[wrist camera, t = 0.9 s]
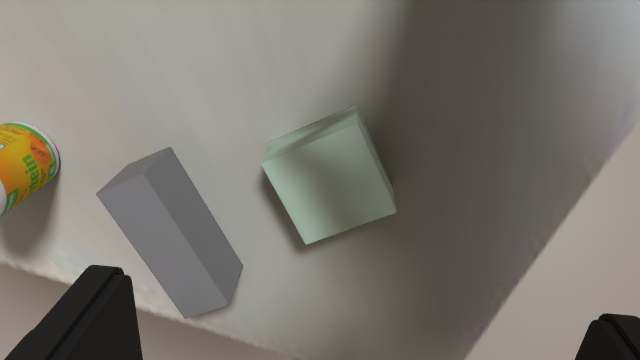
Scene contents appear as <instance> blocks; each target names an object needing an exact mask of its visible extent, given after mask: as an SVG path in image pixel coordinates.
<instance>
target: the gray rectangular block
mask: <svg viewBox="0 0 640 360" xmlns="http://www.w3.org/2000/svg"><path fill="white" fill-rule="evenodd" d="M96 195H97V196H98V198H99V199H100V200H101V202H102V203H103V205H104V206H105V207H106V209H107V210H108V212H109V213H110V214H111V216H112V217H113V219H114V220H115V221H116V223H117V224H118V226H119V227H120V228H121V230H122V231H123V233H124V234H125V235H126V237H127V238H128V240H129V241H130V242H131V244H132V245H133V247H134V248H135V249H136V251H137V252H138V254H139V255H140V256H141V258H142V259H143V261H144V262H145V263H146V265H147V266H148V268H149V269H150V270H151V272H152V273H153V275H154V276H155V277H156V279H157V280H158V282H159V283H160V284H161V286H162V287H163V289H164V290H165V292H166V293H167V294H168V296H169V297H170V299H171V300H172V301H173V303H174V304H175V306H176V307H177V308H178V310H179V311H180V313H181V314H182V315H183V317H184V318H185V319H187V318H190V317H193V316H196V315H200V314H203V313H206V312H209V311H212V310H215V309H218V308H222V307H225V306H228V305H229V304H230V301H231V298H232V296H233V293H234V290H235V287H236V284H237V282H238V279H239V276H240V273H241V271H242V268H243V265H242V263H241V262H240V260H239V258H238V257H237V255H236V253H235V252H234V250H233V248H232V247H231V245H230V244H229V242H228V240H227V239H226V237H225V235H224V234H223V232H222V230H221V229H220V227H219V226H218V224H217V222H216V221H215V219H214V217H213V216H212V214H211V212H210V211H209V209H208V207H207V206H206V204H205V203H204V201H203V199H202V198H201V196H200V194H199V193H198V191H197V189H196V188H195V186H194V185H193V183H192V181H191V180H190V178H189V176H188V175H187V173H186V171H185V170H184V168H183V166H182V165H181V163H180V162H179V160H178V158H177V157H176V155H175V153H174V152H173V150H172V148H171V147H169V148H166V149H164V150H162V151H159V152H157V153H155V154H152V155H150V156H147V157H145V158H143V159H140V160H138V161H136V162H133V163H131V164H129V165H127V166H126V167H125V168H124V169H123V170H122V171H121V172H120V173H118V174H117V175H116V176H115V177H114V178H113V179H112V180H111V181H110V182H108V183H107V184H106V185H105V186H104V187H103V188H102V189H101V190H100V191H99V192H97V193H96Z"/></svg>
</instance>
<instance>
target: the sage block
mask: <svg viewBox="0 0 640 360" xmlns="http://www.w3.org/2000/svg"><path fill="white" fill-rule="evenodd" d="M261 165H262V167H263V169H264V171H265V172H266V174H267V176H268V178H269V180H270V181H271V183H272V185H273V187H274V189H275V190H276V192H277V194H278V196H279V198H280V199H281V201H282V203H283V205H284V206H285V208H286V210H287V212H288V214H289V215H290V217H291V219H292V221H293V223H294V224H295V226H296V228H297V230H298V232H299V233H300V235H301V237H302V239H303V241H304V242H305V244H306V245H307V244H310V243H313V242H315V241H318V240H321V239H324V238H327V237H329V236H332V235H335V234H338V233H341V232H343V231H346V230H349V229H352V228H355V227H357V226H360V225H363V224H366V223H369V222H371V221H374V220H377V219H380V218H383V217H385V216H388V215H391V214H394V213H397V210H396V204H395V198H394V193H393V187H392V183H391V181H390V179H389V176H388V174H387V172H386V170H385V167H384V165H383V163H382V161H381V158H380V156H379V154H378V151H377V149H376V147H375V145H374V142H373V140H372V138H371V136H370V133H369V131H368V129H367V126H366V124H365V122H364V120H363V117H362V115H361V113H360V110H359V108H358V106H357V104H356V105H354V106H352V107H349V108H347V109H345V110H342V111H340V112H338V113H335V114H333V115H331V116H328V117H326V118H324V119H321V120H319V121H317V122H314V123H312V124H310V125H307V126H305V127H302V128H300V129H298V130H295V131H293V132H291V133H288V134H286V135H284V136H281V137H279V138H277V139H274V140H272V141H271V142H270V144H269V147H268V149H267V151H266V153H265V155H264V158H263V160H262V162H261Z"/></svg>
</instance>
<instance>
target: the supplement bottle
mask: <svg viewBox="0 0 640 360" xmlns="http://www.w3.org/2000/svg"><path fill="white" fill-rule="evenodd" d="M58 168H59V155H58V152H57V149H56V147H55V145H54V144H53V142H52V141H51V139H50V138H49V137H48V136H47V135H46V134H45V133H44V132H43V131H41V130H40V129H38V128H37V127H35V126H33V125H30V124H27V123H23V122H8V123H4V124H2V125H0V216H1V215H3V214H4V213H6V212H7V211H8V210H10V209H11V208H12V207H14V206H15V205H17V204H18V203H19V202H21V201H22V200H24V199H25V198H26V197H28V196H29V195H30V194H32V193H33V192H35V191H36V190H37V189H39V188H40V187H42V186H43V185H45V184H46V183H47V182H49V181H50V180H51V179H52V178H53V177H54V176H55V175H56V173H57V171H58Z"/></svg>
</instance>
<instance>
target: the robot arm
mask: <svg viewBox="0 0 640 360" xmlns="http://www.w3.org/2000/svg"><path fill="white" fill-rule="evenodd" d="M4 360H143V358H142V351H141V344H140V336H139V329H138V323H137V316H136V308H135V301H134V294H133V286H132V280H131V277H130V276H128V275H124V272H123V270H122V268H119V267H111V266H100V265H91V266H89V267H88V268H87V269H86V270H85V271H84V272H83V273H82V274H81V275H80V277H79V278H78V279H77V280H76V281H75V282H74V284H73V285H72V286H71V287H70V288H69V289H68V291H67V292H66V293H65V294H64V295H63V296H62V297H61V299H60V300H59V301H58V302H57V303H56V304H55V305H54V307H53V308H52V309H51V310H50V311H49V313H47V315H46V316H45V317H44V318H43V319H42V320H41V322H40V323H39V324H38V325H37V326H36V327H35V328H34V329H33V330H31V331H30V332H29V333H28V334H27V335H26V336H25V337H24V338H23V339H22V340H21V341H20V342H19V343H18V344H17V346H16V347H15V348H14V349H13V350H12V351H11V352H10V354H9V355H8V356H7V357H6V358H5V359H4ZM575 360H640V318H638V317H636V316H629V315H618V314H603V315H601V316H600V317H599V319H598V320H593V321H592V322H591V324H590V325H589V327H588V330H587V332H586V334H585V337H584V339H583V341H582V344H581V346H580V348H579V351H578V353H577V355H576V358H575Z"/></svg>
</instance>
